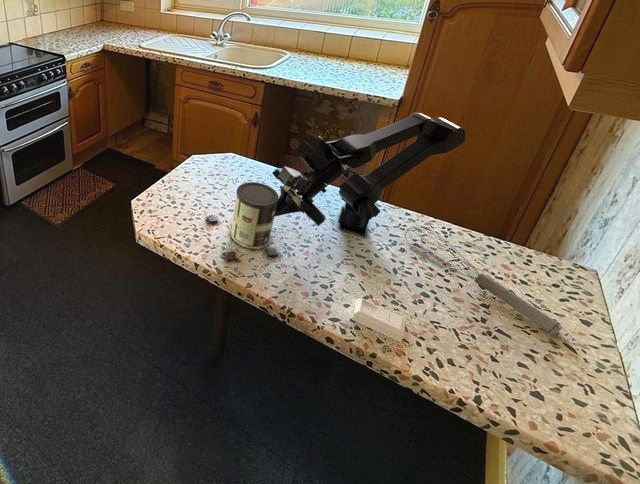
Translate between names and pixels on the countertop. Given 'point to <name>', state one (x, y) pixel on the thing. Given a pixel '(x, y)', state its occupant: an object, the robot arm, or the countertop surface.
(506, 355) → the countertop surface
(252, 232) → the coffee can
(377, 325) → the soap bar
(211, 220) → the tabs
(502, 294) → the kitchen whisk
